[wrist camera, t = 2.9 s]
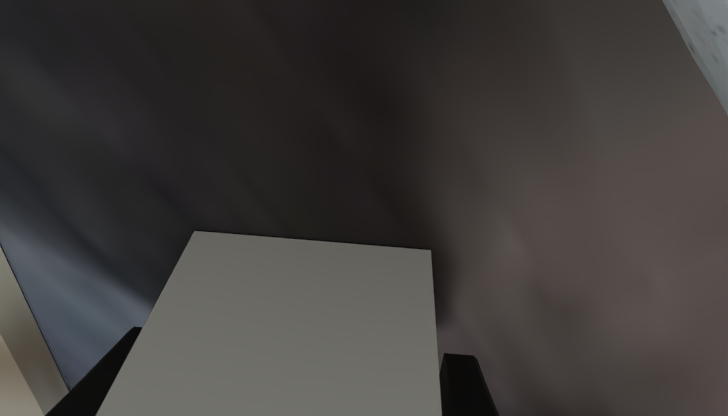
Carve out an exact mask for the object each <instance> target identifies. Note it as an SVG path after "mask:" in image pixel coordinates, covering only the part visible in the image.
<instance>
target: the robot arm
mask: <svg viewBox="0 0 728 416" xmlns="http://www.w3.org/2000/svg"><path fill="white" fill-rule="evenodd" d="M142 328H143V327H133V328H132V329H131V330H129V331H128V332H127V333H126V334H125V336H124V337H123V338H122V339H121V340H120V341H119V342H118V343H117V344H116V345H115V346H114V347H113V348H112V349H111V350H110V351H109V352H108V353H107V354H106V355H105V356H104V357H103V358H102V359H101V360H100V361H99V362H98V363H97V364H96V365H95V366H94V367H93V368H92V369H91V370H90V371H89V372H88V373H87V374H86V376H85V377H84V378H83V379H82V380H81V381H80V382H79V383H78V384H77V385H76V386H75V387H74V388H73V389H71V390H70V391H69V392H68V393H67V394H66V395H65V396H64V397H63V398H62V399H61V400H60V401H59V402H58V403H57V404H56V405H55V406H54V407H53V408H52V409H51V410H50V411H49V412H48V413H47V414H46V415H45V416H96V414H97V412H98V410H99V409H100V407H101V405H102V403H103V401H104V399H105V397H106V396H107V394H108V392H109V390H110V388H111V386H112V384H113V382H114V381H115V379H116V377H117V375H118V373H119V371H120V369H121V367H122V366H123V364H124V362H125V360H126V358H127V356H128V354H129V352H130V351H131V349H132V347H133V345H134V343H135V341H136V339H137V338H138V336H139V334H140V332H141V330H142ZM439 379H440V394H441V409H442V416H499V414H498V411H497V409H496V407H495V404H494V402H493V400H492V397H491V395H490V392H489V390H488V387H487V385H486V382H485V380H484V377H483V374H482V372H481V369H480V366H479V363H478V360H477V359H476V358H475V357H474V356H470V355H459V354H447V353H444V356H443V361H442V365H441V370H440V374H439Z"/></svg>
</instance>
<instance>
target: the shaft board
mask: <svg viewBox="0 0 728 416" xmlns="http://www.w3.org/2000/svg"><path fill="white" fill-rule="evenodd" d="M68 392H69V391H68V389H67V387H66V385H65V383H64V381H63V378H62V376H61V374H60V372H59V370H58V368H57V366H56V364H55V361H54V359H53V357H52V355H51V353H50V351H49V349H48V347H47V344H46V342H45V340H44V338H43V336H42V334H41V332H40V330H39V327H38V325H37V323H36V321H35V319H34V317H33V315H32V313H31V310H30V308H29V306H28V304H27V302H26V300H25V298H24V296H23V293H22V291H21V289H20V287H19V285H18V283H17V281H16V279H15V276H14V274H13V272H12V270H11V268H10V266H9V264H8V262H7V259H6V257H5V255H4V253H3V251H2V249H1V247H0V416H45V415H46V414H47V413H48V412H49V411H50V410H51V409H52V408H53V407H54V406H55V405H56V404H57V403H58V402H59V401H60V400H61V399H62V398H63V397H64V396H65V395H66V394H67V393H68Z"/></svg>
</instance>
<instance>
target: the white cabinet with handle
mask: <svg viewBox="0 0 728 416" xmlns="http://www.w3.org/2000/svg"><path fill="white" fill-rule="evenodd" d="M96 416H442V409H441V394H440V379H439V364H438V349H437V334H436V319H435V304H434V289H433V274H432V259H431V250H423V249H410V248H398V247H386V246H374V245H361V244H349V243H337V242H325V241H313V240H300V239H288V238H276V237H264V236H251V235H239V234H227V233H215V232H202V231H194V233H193V235H192V236H191V238H190V240H189V242H188V244H187V246H186V248H185V250H184V251H183V253H182V255H181V257H180V259H179V261H178V263H177V265H176V266H175V268H174V270H173V272H172V274H171V276H170V278H169V279H168V281H167V283H166V285H165V287H164V289H163V291H162V293H161V294H160V296H159V298H158V300H157V302H156V304H155V306H154V308H153V309H152V311H151V313H150V315H149V317H148V319H147V321H146V323H145V324H144V326H143V328H142V330H141V332H140V334H139V336H138V338H137V339H136V341H135V343H134V345H133V347H132V349H131V351H130V352H129V354H128V356H127V358H126V360H125V362H124V364H123V366H122V367H121V369H120V371H119V373H118V375H117V377H116V379H115V381H114V382H113V384H112V386H111V388H110V390H109V392H108V394H107V396H106V397H105V399H104V401H103V403H102V405H101V407H100V409H99V410H98V412H97V414H96Z"/></svg>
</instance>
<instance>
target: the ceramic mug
mask: <svg viewBox="0 0 728 416" xmlns="http://www.w3.org/2000/svg"><path fill="white" fill-rule="evenodd" d="M662 1H663V3H664V5H665V7H666V8H667V10H668V12H669V14H670V16H671V18H672V19H673V21H674V23H675V25H676V27H677V29H678V30H679V32H680V34H681V36H682V38H683V40H684V42H685V44H686V45H687V47H688V49H689V51H690V53H691V55H692V57H693V59H694V60H695V62H696V63H697V65H698V66H699V68H700V70H701V71H702V73H703V74H704V76H705V78H706V79H707V81H708V82H709V84H710V86H711V87H712V89H713V91H714V93H715V94H716V96H717V98H718V100H719V101H720V103H721V105H722V106H723V108H724V110H725V112H726V113H727V115H728V0H662Z"/></svg>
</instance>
